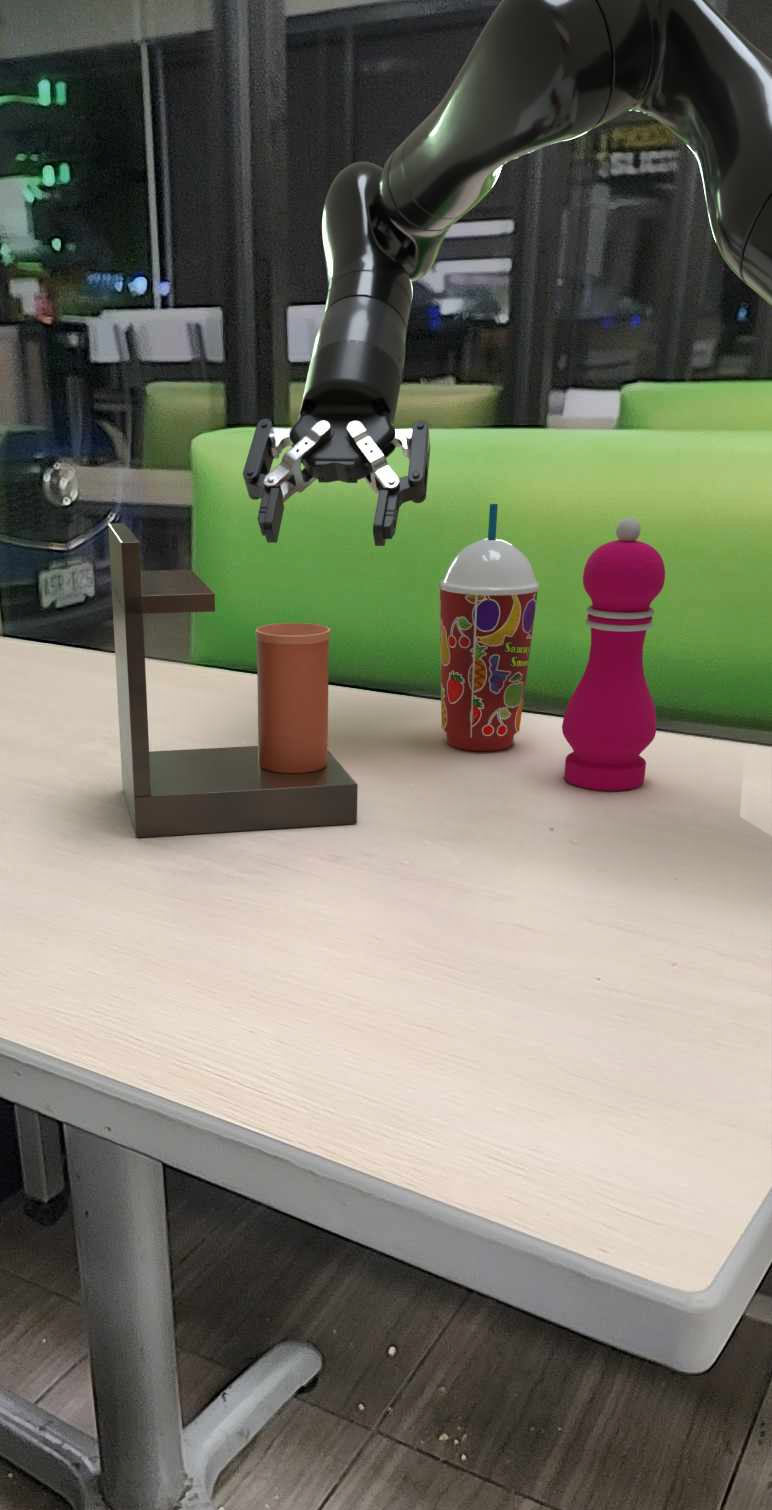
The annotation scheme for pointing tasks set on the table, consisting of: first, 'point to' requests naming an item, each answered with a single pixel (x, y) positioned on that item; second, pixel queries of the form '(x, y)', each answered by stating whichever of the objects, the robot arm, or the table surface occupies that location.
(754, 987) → the table surface
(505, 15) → the robot arm
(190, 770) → the stand
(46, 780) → the table surface
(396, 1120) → the table surface
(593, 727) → the pepper mill
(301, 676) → the tumbler
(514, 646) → the smoothie
